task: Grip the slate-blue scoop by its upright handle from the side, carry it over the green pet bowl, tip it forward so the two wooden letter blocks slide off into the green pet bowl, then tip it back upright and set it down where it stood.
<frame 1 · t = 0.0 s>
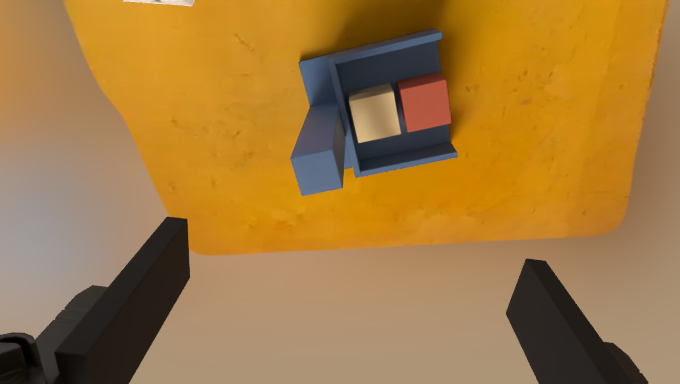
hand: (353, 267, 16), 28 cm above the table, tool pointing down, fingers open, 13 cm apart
maple block: (373, 107, 41), point 1 cm above the table, touching scoop
scoop: (328, 115, 42), on the table, touching brick block, maple block
brick block: (420, 96, 41), point 1 cm above the table, touching scoop
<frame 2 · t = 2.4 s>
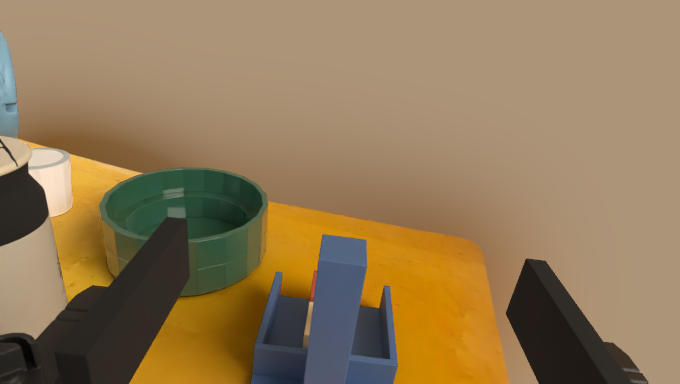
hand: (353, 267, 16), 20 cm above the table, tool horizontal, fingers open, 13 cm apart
green pet bowl: (190, 251, 49), on the table
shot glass: (47, 208, 54), on the table
travel mug: (19, 364, 34), on the table
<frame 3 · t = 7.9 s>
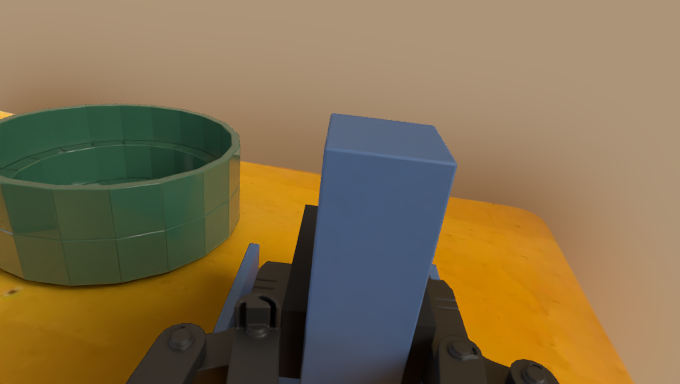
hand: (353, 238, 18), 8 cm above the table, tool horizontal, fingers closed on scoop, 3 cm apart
green pet bowl: (125, 221, 33), on the table
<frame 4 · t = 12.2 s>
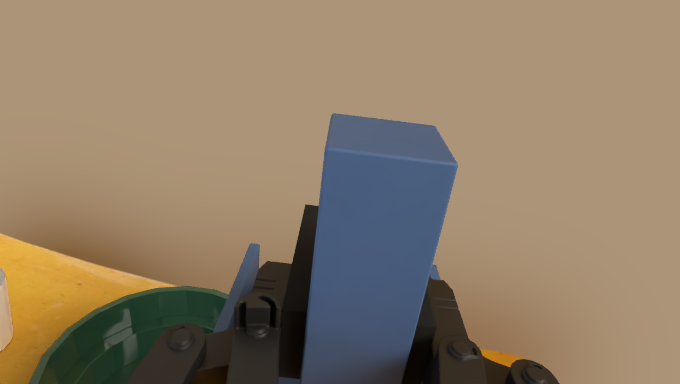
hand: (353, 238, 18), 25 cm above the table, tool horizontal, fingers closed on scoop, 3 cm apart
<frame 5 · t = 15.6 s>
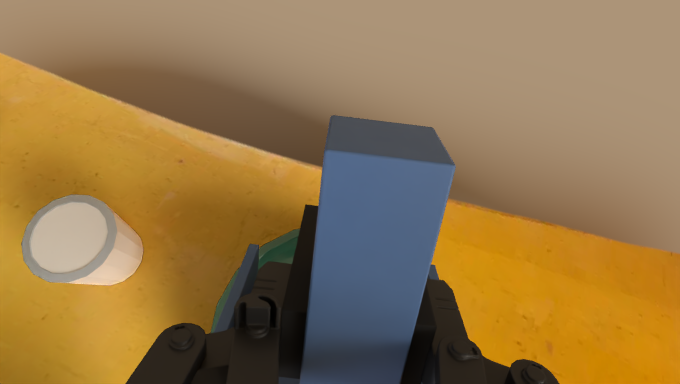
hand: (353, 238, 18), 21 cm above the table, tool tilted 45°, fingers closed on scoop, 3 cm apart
green pet bowl: (327, 340, 37), on the table
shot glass: (112, 254, 38), on the table
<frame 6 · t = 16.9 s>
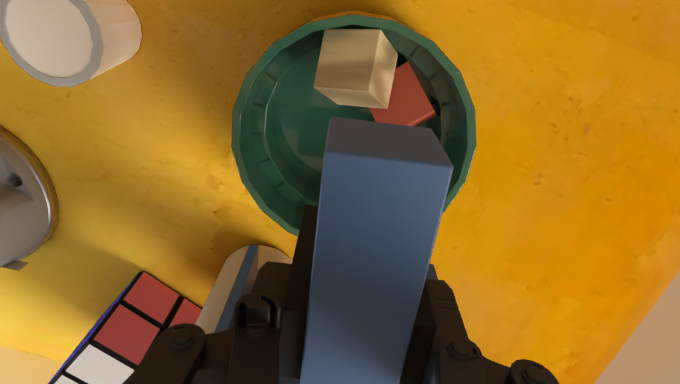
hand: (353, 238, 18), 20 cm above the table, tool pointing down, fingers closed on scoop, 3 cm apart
green pet bowl: (353, 120, 36), on the table
puzzle cube: (159, 319, 47), on the table
maple block: (351, 98, 29), point 7 cm above the table, tilted 116°, touching brick block, green pet bowl
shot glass: (108, 26, 34), on the table
brick block: (403, 106, 34), point 2 cm above the table, tilted 25°, touching green pet bowl, maple block
travel mug: (261, 274, 44), on the table
when the fingers open (10 cm above the table, at t = 27.5 s): scoop drops 5 cm, on the table.
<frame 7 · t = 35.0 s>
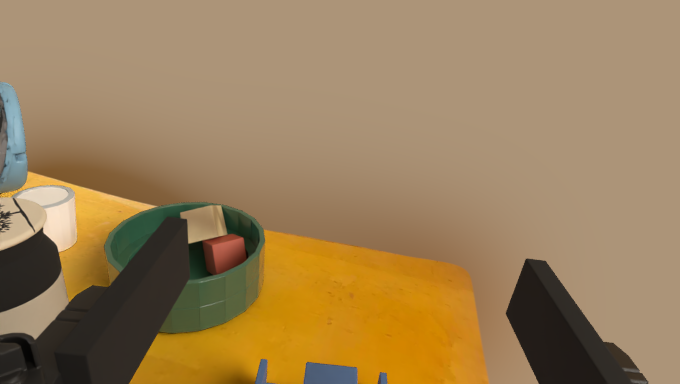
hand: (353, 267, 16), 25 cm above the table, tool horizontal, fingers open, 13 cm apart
green pet bowl: (191, 284, 52), on the table
maple block: (198, 224, 52), point 7 cm above the table, tilted 117°, touching brick block, green pet bowl
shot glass: (52, 243, 56), on the table
brick block: (227, 269, 53), point 1 cm above the table, tilted 23°, touching green pet bowl, maple block
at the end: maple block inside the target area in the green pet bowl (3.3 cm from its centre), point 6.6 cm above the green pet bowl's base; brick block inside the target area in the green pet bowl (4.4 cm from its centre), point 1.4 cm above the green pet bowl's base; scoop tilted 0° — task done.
